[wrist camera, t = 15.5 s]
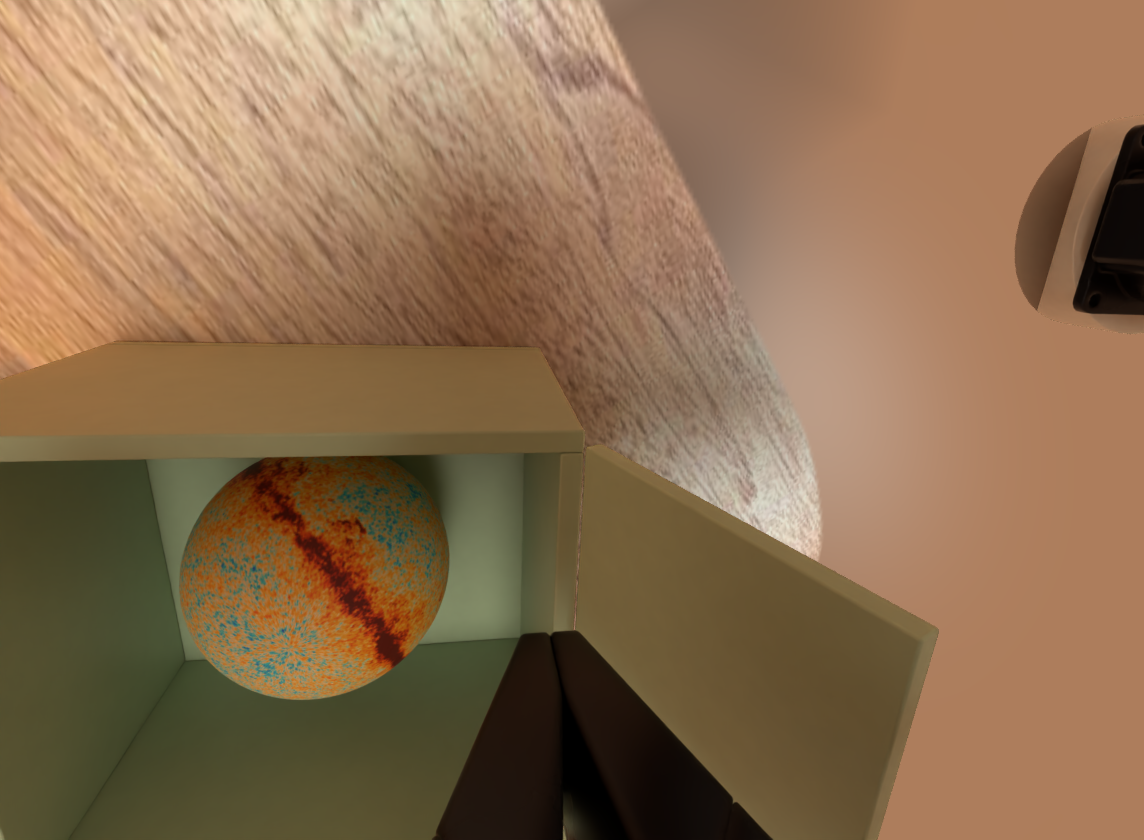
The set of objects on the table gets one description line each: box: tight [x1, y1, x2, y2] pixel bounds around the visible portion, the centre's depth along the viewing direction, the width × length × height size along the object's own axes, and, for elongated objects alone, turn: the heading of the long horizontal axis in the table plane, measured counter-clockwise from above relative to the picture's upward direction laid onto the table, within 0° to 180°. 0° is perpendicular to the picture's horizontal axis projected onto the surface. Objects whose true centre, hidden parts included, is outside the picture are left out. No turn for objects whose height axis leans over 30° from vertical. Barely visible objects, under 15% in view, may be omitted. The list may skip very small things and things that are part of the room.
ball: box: [179, 456, 449, 700], centre depth 17 cm, size 7×7×7 cm
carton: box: [0, 341, 585, 840], centre depth 17 cm, size 13×12×8 cm
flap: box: [563, 444, 939, 840], centre depth 11 cm, size 6×12×1 cm
